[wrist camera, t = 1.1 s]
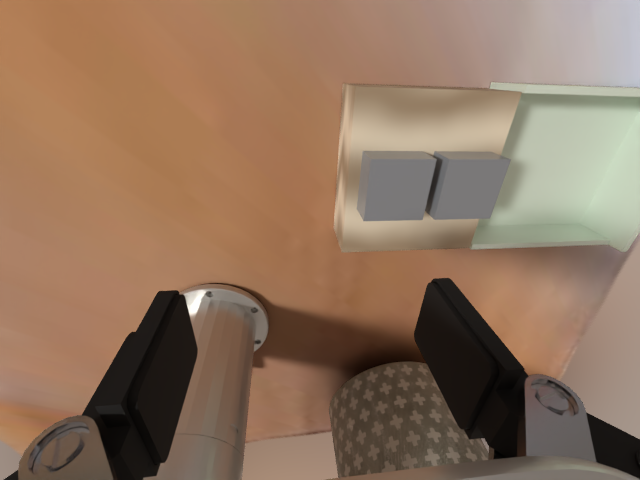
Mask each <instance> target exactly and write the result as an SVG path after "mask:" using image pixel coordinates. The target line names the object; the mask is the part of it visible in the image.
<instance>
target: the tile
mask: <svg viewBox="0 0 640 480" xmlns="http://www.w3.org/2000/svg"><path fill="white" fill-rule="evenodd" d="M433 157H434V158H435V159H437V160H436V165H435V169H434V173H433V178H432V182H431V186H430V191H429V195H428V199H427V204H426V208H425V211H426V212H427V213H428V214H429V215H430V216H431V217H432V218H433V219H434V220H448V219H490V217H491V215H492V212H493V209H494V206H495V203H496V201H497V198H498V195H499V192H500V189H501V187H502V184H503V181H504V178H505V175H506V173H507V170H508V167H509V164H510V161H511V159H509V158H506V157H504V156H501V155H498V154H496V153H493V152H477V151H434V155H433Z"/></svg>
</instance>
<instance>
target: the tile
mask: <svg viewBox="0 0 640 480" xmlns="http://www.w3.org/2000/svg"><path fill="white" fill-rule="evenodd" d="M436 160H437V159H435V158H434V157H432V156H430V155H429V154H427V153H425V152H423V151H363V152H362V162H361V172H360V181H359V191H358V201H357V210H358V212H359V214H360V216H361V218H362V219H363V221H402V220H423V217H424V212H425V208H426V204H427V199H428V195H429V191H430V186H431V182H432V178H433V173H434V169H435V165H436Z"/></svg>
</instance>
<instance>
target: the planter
mask: <svg viewBox="0 0 640 480" xmlns="http://www.w3.org/2000/svg"><path fill="white" fill-rule="evenodd" d="M329 414H330V422H331V429H332V436H333V443H334V450H335V456H336V464H337V471H338V478H343V477H351V476H359V475H367V474H375V473H383V472H391V471H399V470H407V469H415V468H423V467H432V466H440V465H448V464H457V463H465V462H473V461H483V460H488V456H489V453H488V451H487V449H486V448H485V446H484V444H483V442H482V440H481V438H480V439H471V440H469V439H468V437H467V435H466V433H465V431H464V429H460V428H459V427H458V425H457V423H456V421H455V419H454V417H453V415H452V413H451V411H450V409H449V407H448V405H447V403H446V401H445V399H444V397H443V395H442V393H441V391H440V389H439V387H438V385H437V383H436V381H435V379H434V377H433V375H432V373H431V371H430V369H429V367H428V365H427V364H426V363H421V362H409V361H406V362H394V363H388V364H384V365H380V366H377V367H374V368H371V369H368V370H366V371H364V372H362V373H360V374H358V375H356V376H354V377H353V378H351V379H350V380H348V381H347V382H346V383H345V384H343V385H342V386H341V387H340V388H339V389H338V391H337V392H336V393H335V395H334V396H333V398H332V400H331V403H330V407H329Z"/></svg>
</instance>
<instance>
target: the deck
mask: <svg viewBox="0 0 640 480" xmlns="http://www.w3.org/2000/svg"><path fill="white" fill-rule="evenodd" d="M521 94H522V92H519V91H508V90H497V89H487V88H463V87H433V86H404V85H374V84H345V83H343V90H342V106H341V121H340V137H339V153H338V168H337V184H336V200H335V215H334V230H335V233H336V236H337V239H338V242H339V245H340V248H341V251H342V252H367V251H397V250H426V249H456V248H470V245H471V242H472V239H473V236H474V233H475V230H476V228H477V225H478V222H479V219H448V220H434V219H433V218H432V217H431V216H430V215H429V214H428V213H427V212H426V211H425V212H424V217H423V220H402V221H363V219H362V218H361V216H360V214H359V212H358V210H357V201H358V191H359V181H360V172H361V162H362V152H363V151H423V152H425V153H427V154H429V155H430V156H432V157H433V155H434V151H477V152H493V153H496V154H498V155H501V153H502V150H503V147H504V144H505V141H506V138H507V135H508V133H509V130H510V127H511V124H512V121H513V118H514V115H515V112H516V109H517V106H518V103H519V100H520V97H521Z"/></svg>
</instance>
